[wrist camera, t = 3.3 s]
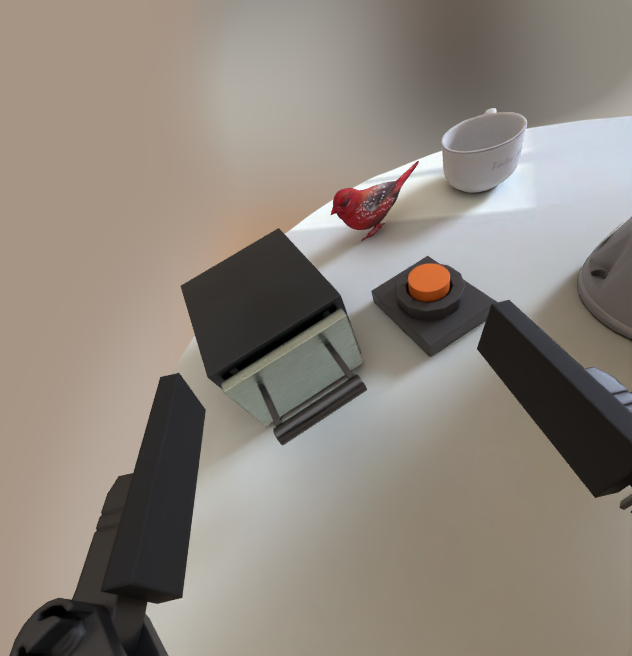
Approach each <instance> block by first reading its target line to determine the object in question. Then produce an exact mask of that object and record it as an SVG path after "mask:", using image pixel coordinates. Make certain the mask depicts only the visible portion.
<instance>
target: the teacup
mask: <svg viewBox="0 0 632 656" xmlns="http://www.w3.org/2000/svg"><path fill="white" fill-rule="evenodd" d="M526 127H527V121H526V119H525V117H524V116H522V115H520V114H517V113H511V112H499V113H497V112H496V109H495V108H492V109H488V110H486V111H485V114H484V115H480V116H477V117H474V118H471V119H468V120H465V121H463V122H461V123H459V124H458V125H456V126H454V127H453V128H451V129H450V130H449V131H448V132H447V133H446V134H445V135H444V136H443V138H442V140H441V145H442V152H443V168H444V174H445V178H446V180H447V182H448V183H449V184H450V185H451V186H453V187H454V188H457V189H459V190H461V191H464V192H469V193H475V192H482V191H486V190H489V189H491V188H494V187H495V186H497V185H498V184H500V183H501V182H503V181H504V180H506V179H507V178H508V177H509V176H510V175H511V174H512V173H513V172H514V170H515V169H516V167H517V165H518V162H519V159H520V155H521V150H522V145H523V139H524V133H525V129H526Z"/></svg>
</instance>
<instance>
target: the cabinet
mask: <svg viewBox="0 0 632 656" xmlns="http://www.w3.org/2000/svg"><path fill="white" fill-rule="evenodd" d="M181 289H182V293H183V296H184V299H185V303H186V306H187V309H188V313H189V316H190V319H191V323H192V326H193V330H194V333H195V336H196V340H197V343H198V346H199V350H200V353H201V356H202V360H203V363H204V367H205V370H206V373H207V377H208V378H209V379H210V380H211V381H213V382H214V383H215V384H216V385H218V386H219V387H220V388H221V389H222V386H221V383H222V382H223V381H225V380H227V379H228V378H230V377H231V376H233V375H232V374H231V373H230V371H231V370H233V369H234V368H236V367H238V366H239V365H241V364H242V363H244V362H246V361H247V360H249V359H250V358H252V357H254V356H255V355H257V354H258V353H260V352H262V351H263V350H265V349H266V348H268V347H270V346H271V345H273V344H274V343H276V342H278V341H279V340H281V339H282V338H284V337H286V336H287V335H289V334H290V333H292V332H294V331H295V330H297V329H298V328H300V327H302V326H303V325H305V324H306V323H308V322H310V321H311V320H313V319H314V318H316V317H318V316H319V315H321V314H322V313H324V312H326V311H327V310H329V311H330V314H332V313H334V312H335V311H337V310H338V309H340V308H341V309H342V310H343V311H344V313H345V314H346V315H347V312H346V309H345V306H344V303H343V301H342V298H341V295H340V294H339V293H338V292H337V290H336V289H335V288H334V287H333V286H332V285H331V284H330V283H329V282H328V281H327V280H326V279H325V277H324V276H323V275H322V274H321V273H320V272H319V271H318V270H317V269H316V268H315V267H314V266H313V265H312V263H311V262H310V261H309V260H308V259H307V258H306V257H305V256H304V255H303V254H302V253H301V252H300V250H299V249H298V248H297V247H296V246H295V245H294V244H293V243H292V242H291V241H290V240H289V239H288V237H287V236H286V235H285V234H284V233H283V232H282V231H281V230H280V229H276V230H275V231H273V232H271V233H270V234H268V235H266V236H264V237H263V238H261V239H259V240H258V241H256V242H254V243H253V244H251V245H249V246H247V247H246V248H244V249H242V250H241V251H239V252H237V253H236V254H234V255H233V256H231V257H229V258H227V259H225V260H224V261H222V262H220V263H219V264H217V265H215V266H214V267H212V268H210V269H208V270H207V271H205V272H203V273H202V274H200V275H198V276H197V277H195V278H193V279H191V280H190V281H188V282H186V283H185V284H183V285H181ZM347 317H348V315H347ZM348 320H349V318H348ZM349 323H350V320H349ZM350 326H351V323H350ZM351 329H352V326H351ZM352 332H353V329H352ZM353 334H354V332H353ZM354 337H355V335H354ZM355 340H356V338H355ZM356 343H357V341H356ZM357 346H358V343H357ZM358 349H359V346H358ZM359 351H360V349H359ZM360 354H361V352H360ZM222 390H223V389H222Z"/></svg>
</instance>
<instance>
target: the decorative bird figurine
mask: <svg viewBox="0 0 632 656" xmlns="http://www.w3.org/2000/svg"><path fill="white" fill-rule="evenodd" d="M418 162H419V161H417V162H416V163H415V164H414V165H413V166H412V167H410V168H409V169H408V170H407V171H406V172H405V173H404V174H403V175H402V176H401V177H400V178H399V179H398V180H396V181H394V182H387V183H382V184H379V185H375V186H373V187H370V188H368V189H365V190H360V191H359V190H356V189H353V188H347V189H342V190H340V191H338V192H337V193H336V195H335V197H334V200H333V208H332V211H331V215H333V214H335V213H337V215H338V217H339V218H340V219H342V220H343V221H344V223H345V224H346V225H347V226H349V227H350V228H352V229H356V230H366V229H369V228H371V227H373V226H374V228H373V229H372V231H370V232H369V233H368V234H367V236H366V237H365V238H367V237H371V236H372V235H373V234H374V233H375V232H376V231H377V230H378V229H380V228H381V225H383V224H385V223H381V224H380V222H381V221H382V220H383V219H384V217H385V216H386V215H387V213H388V211H389V210H390V208H391V207H392V206H393V205H394V203H395V202H396V199H397V197H398V194H399V192H400V189H401V187H402V185H403V184H404V182H405V181H406V180H407V178H408V177H409V176H410V174H411V173H412V172H413V170H414V169H415V168H416V166H417V165H418ZM365 238H363V239H362V240H364V239H365Z"/></svg>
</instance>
